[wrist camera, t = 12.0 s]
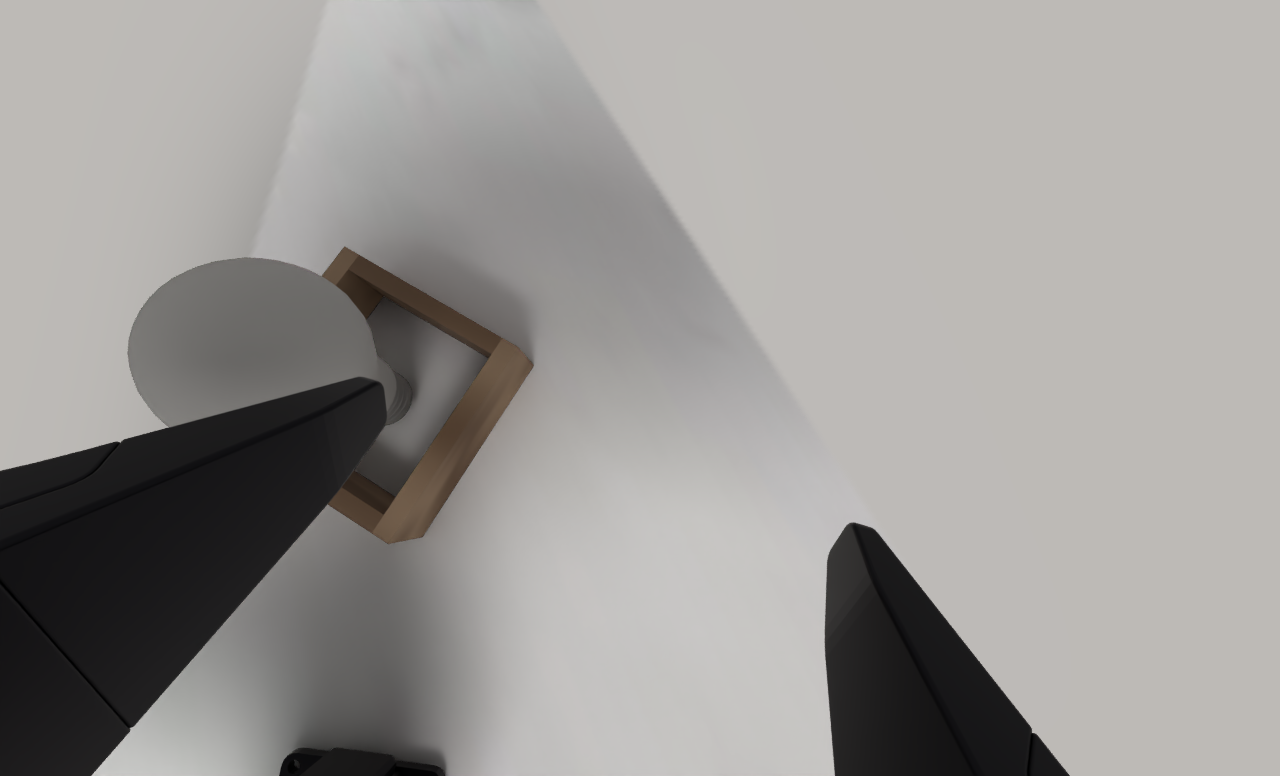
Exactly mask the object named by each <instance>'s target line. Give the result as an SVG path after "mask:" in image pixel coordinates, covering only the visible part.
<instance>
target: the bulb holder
mask: <svg viewBox="0 0 1280 776" xmlns="http://www.w3.org/2000/svg"><path fill="white" fill-rule="evenodd" d="M322 277H324V278H325V279H327V280H328V281H330V282H331V283H333V284H334V285H335V286H337V287H338V288H339V289H340V290H342V291H343V292H344V293H346V294H347V295H348V297H349V298H350V299H351V300H352V302H353V303H354V304H355V305H356V307H357V308H358V309H359V310H360V312H361V313H362V314H363V316H364V317H365V319H367V318H368V317H369V315H370V314H371V313H372V311H373V310H374V308H375V307H376V306H377V304H378V303H379V302H380V300H381V299H382V298H383V296H384V297H386V298H387V299H389V300H391V301H393V302H394V303H396V304H398V305H399V306H401V307H403V308H404V309H406V310H408V311H410V312H411V313H413V314H415V315H416V316H418V317H420V318H421V319H423V320H425V321H427V322H428V323H430V324H432V325H433V326H435V327H437V328H438V329H440V330H442V331H444V332H445V333H447V334H449V335H450V336H452V337H454V338H455V339H457V340H459V341H461V342H462V343H464V344H466V345H467V346H469V347H471V348H472V349H474V350H476V351H478V352H479V353H481V354H483V355H484V356H486V357H488V358H489V359H488V360H487V362H486V363H485V365H484V366H483V368H482V369H481V371H480V372H479V374H478V375H477V377H476V378H475V380H474V381H473V383H472V384H471V386H470V387H469V389H468V390H467V392H466V393H465V395H464V396H463V398H462V399H461V401H460V402H459V404H458V405H457V407H456V408H455V410H454V411H453V413H452V414H451V416H450V417H449V419H448V420H447V422H446V423H445V425H444V426H443V428H442V429H441V430H440V432H439V433H438V435H437V436H436V438H435V439H434V441H433V442H432V444H431V445H430V447H429V448H428V450H427V451H426V453H425V454H424V456H423V457H422V459H421V460H420V462H419V463H418V465H417V466H416V468H415V469H414V471H413V472H412V474H411V475H410V477H409V478H408V480H407V481H406V483H405V484H404V486H403V487H402V489H401V490H400V492H399V493H398V495H397V496H396V497H394V496H393V495H391V494H390V493H388V492H387V491H385V490H383V489H382V488H380V487H379V486H377V485H376V484H374V483H373V482H371V481H369V480H368V479H366V478H365V477H363V476H362V475H360V474H359V473H357V472H355V471H353V472H352V474H351V475H350V476H349V478H348V479H347V481H346V482H345V483H344V485H343V486H342V487H341V489H340V490H339V491H338V492H337V494H336V495H335V496H334V497H333V498H332V500H331V501H330V502H329V503H328V505H330V506H331V507H333V508H334V509H336V510H337V511H339V512H340V513H342V514H343V515H345V516H346V517H348V518H349V519H351V520H352V521H354V522H355V523H357V524H358V525H360V526H361V527H363V528H365V529H366V530H368V531H369V532H371V533H372V534H374V535H375V536H377V537H378V538H380V539H381V540H383V541H384V542H386V543H387V544H391V543H396V542H401V541H406V540H411V539H415V538H420V537H423V535H424V534H425V532H426V531H427V529H428V528H429V526H430V525H431V523H432V521H433V520H434V518H435V517H436V515H437V514H438V512H439V511H440V509H441V508H442V506H443V505H444V503H445V501H446V500H447V498H448V497H449V495H450V494H451V492H452V491H453V489H454V488H455V486H456V485H457V483H458V481H459V480H460V478H461V477H462V475H463V474H464V472H465V471H466V469H467V468H468V466H469V464H470V463H471V461H472V460H473V458H474V457H475V455H476V454H477V452H478V451H479V449H480V448H481V446H482V444H483V443H484V441H485V440H486V438H487V437H488V435H489V434H490V432H491V431H492V429H493V428H494V426H495V424H496V423H497V421H498V420H499V418H500V417H501V415H502V414H503V412H504V411H505V409H506V408H507V406H508V404H509V403H510V401H511V400H512V398H513V397H514V395H515V394H516V392H517V391H518V389H519V388H520V386H521V384H522V383H523V381H524V380H525V378H526V377H527V375H528V374H529V372H530V371H531V369H532V367H533V366H534V365H533V364H532V362H531V361H530V360H529V359H528V358H527V357H526V356H525V354H524V353H523V352H522V351H521V350H520V349H519V348H518V347H517V346H515V345H513V344H512V343H510V342H508V341H507V340H505V339H503V338H501V337H500V336H498V335H496V334H495V333H493V332H491V331H489V330H488V329H486V328H484V327H482V326H481V325H479V324H477V323H476V322H474V321H472V320H470V319H469V318H467V317H465V316H463V315H462V314H460V313H458V312H457V311H455V310H453V309H451V308H450V307H448V306H446V305H444V304H443V303H441V302H439V301H438V300H436V299H434V298H432V297H431V296H429V295H427V294H426V293H424V292H422V291H420V290H419V289H417V288H415V287H413V286H412V285H410V284H408V283H407V282H405V281H403V280H401V279H400V278H398V277H396V276H394V275H393V274H391V273H389V272H388V271H386V270H384V269H382V268H381V267H379V266H377V265H376V264H374V263H372V262H370V261H369V260H367V259H365V258H363V257H362V256H360V255H358V254H357V253H355V252H353V251H351V250H350V249H348V248H346V247H344V248H343V249H342V250H341V252H340V253H339V254H338V256H337V257H336V258H335V260H334V261H333V262H332V263H331V265H330V266H329V267H328V269H327V270H326V271H325V273H324V274H323V275H322Z"/></svg>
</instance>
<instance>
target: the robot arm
mask: <svg viewBox="0 0 1280 776" xmlns="http://www.w3.org/2000/svg"><path fill="white" fill-rule="evenodd" d="M386 421H387V408H386V399H385V391H384V386H383V385H382V383H381V382H379V381H376V380H373V379H370V378H366V377H361V376H360V377H355V378H351V379H347V380H343V381H340V382H336V383H332V384H329V385H325V386H321V387H317V388H314V389H310V390H306V391H303V392H299V393H295V394H291V395H288V396H284V397H280V398H277V399H273V400H269V401H265V402H262V403H258V404H254V405H251V406H247V407H243V408H239V409H236V410H232V411H228V412H224V413H221V414H217V415H213V416H210V417H206V418H202V419H198V420H195V421H191V422H187V423H184V424H180V425H176V426H172V427H169V428H165V429H162V430H158V431H154V432H150V433H147V434H143V435H139V436H135V437H132V438H128V439H124V440H123V441H122V442H121V443H120V442H113V443H109V444H105V445H102V446H98V447H94V448H91V449H87V450H83V451H80V452H75V453H71V454H68V455H64V456H60V457H56V458H52V459H48V460H44V461H41V462H37V463H32V464H28V465H24V466H19V467H15V468H11V469H6V470H2V471H0V776H91V775H92V774H93V773H94V772H95V771H96V770H97V769H98V767H99V766H100V765H101V764H102V763H103V762H104V761H105V759H106V758H107V757H108V756H109V755H110V754H111V752H112V751H113V750H114V749H115V748H116V747H117V746H118V744H119V743H120V742H121V741H122V740H123V739H124V738H125V736H126V735H127V734H128V733H129V732H130V728H131V727H133V726H135V724H136V723H137V722H138V721H139V720H140V719H141V718H142V716H143V715H144V714H145V713H146V712H147V711H148V710H149V708H150V707H151V706H152V705H153V704H154V703H155V701H156V700H157V699H158V698H159V697H160V696H161V695H162V693H163V692H164V691H165V690H166V689H167V688H168V687H169V685H170V684H171V683H172V682H173V681H174V680H175V679H176V677H177V676H178V675H179V674H180V673H181V672H182V671H183V669H184V668H185V667H186V666H187V665H188V664H189V663H190V661H191V660H192V659H193V658H194V657H195V656H196V654H197V653H198V652H199V651H200V650H201V649H202V648H203V646H204V645H205V644H206V643H207V642H208V641H209V640H210V638H211V637H212V636H213V635H214V634H215V633H216V632H217V630H218V629H219V628H220V627H221V626H222V625H223V624H224V622H225V621H226V620H227V619H228V618H229V617H230V616H231V614H232V613H233V612H234V611H235V610H236V609H237V607H238V606H239V605H240V604H241V603H242V602H243V601H244V599H245V598H246V597H247V596H248V595H249V594H250V593H251V591H252V590H253V589H254V588H255V587H256V586H257V585H258V583H259V582H260V581H261V580H262V579H263V578H264V577H265V575H266V574H267V573H268V572H269V571H270V570H271V569H272V567H273V566H274V565H275V564H276V563H277V562H278V560H279V559H280V558H281V557H282V556H283V555H284V554H285V552H286V551H287V550H288V549H289V548H290V547H291V546H292V544H293V543H294V542H295V541H296V540H297V539H298V538H299V536H300V535H301V534H302V533H303V532H304V531H305V530H306V528H307V527H308V526H309V525H310V524H311V523H312V521H313V520H314V519H315V518H316V517H317V516H318V515H319V513H320V512H321V511H322V510H323V509H324V508H325V507H326V505H327V504H328V503H329V502H330V501H331V500H332V498H333V497H334V496H335V495H336V494H337V492H338V491H339V490H340V489H341V487H342V486H343V485H344V483H345V482H346V481H347V479H348V478H349V476H350V475H351V474H352V472H353V471H354V469H355V468H356V466H357V465H358V464H359V462H360V461H361V459H362V458H363V457H364V455H365V454H366V452H367V451H368V449H369V448H370V447H371V445H372V444H373V442H374V441H375V439H376V438H377V437H378V435H379V434H380V432H381V431H382V429H383V428H384V426H385V424H386ZM825 658H826V670H827V683H828V695H829V708H830V720H831V733H832V745H833V757H834V770H835V776H1070V775H1069V774H1068V773H1067V772H1066V770H1065V769H1064V768H1063V767H1062V766H1061V764H1060V763H1059V762H1058V761H1057V759H1056V758H1055V757H1054V755H1053V754H1052V753H1051V752H1050V750H1049V749H1048V748H1047V747H1046V745H1045V744H1044V743H1043V742H1042V740H1041V739H1040V738H1039V737H1038V735H1037V734H1035V733H1032V728H1031V727H1030V725H1029V724H1028V723H1027V722H1026V720H1025V719H1024V718H1023V716H1022V715H1021V714H1020V713H1019V711H1018V710H1017V709H1016V708H1015V706H1014V705H1013V704H1012V703H1011V701H1010V700H1009V699H1008V698H1007V696H1006V695H1005V694H1004V692H1003V691H1002V690H1001V689H1000V687H999V686H998V685H997V684H996V682H995V681H994V680H993V678H992V677H991V676H990V675H989V673H988V672H987V671H986V670H985V668H984V667H983V666H982V664H981V663H980V662H979V661H978V660H977V658H976V657H975V656H974V654H973V653H972V652H971V651H970V649H969V648H968V647H967V645H966V644H965V643H964V642H963V640H962V639H961V638H960V637H959V636H958V634H957V633H956V631H955V630H954V629H953V628H952V626H951V625H950V624H949V623H948V621H947V620H946V619H945V618H944V616H943V615H942V614H941V613H940V611H939V610H938V609H937V607H936V606H935V605H934V604H933V602H932V601H931V600H930V599H929V597H928V596H927V595H926V593H925V592H924V591H923V590H922V588H921V587H920V586H919V585H918V583H917V582H916V581H915V580H914V578H913V577H912V576H911V574H910V573H909V572H908V571H907V569H906V568H905V567H904V566H903V564H902V563H901V562H900V560H899V559H898V558H897V557H896V555H895V554H894V553H893V552H892V550H891V549H890V548H889V547H888V545H887V544H886V543H885V541H884V540H883V539H882V538H881V536H880V535H879V534H878V533H877V532H876V530H874V529H873V528H871V527H868V526H864V525H861V524H858V523H849V524H848V525H847V526H846V527H845V528H844V530H843V531H842V533H841V535H840V536H839V538H838V539H837V541H836V542H835V544H834V545H833V547H832V548H831V550H830V552H829V555H828V560H827V582H826V611H825ZM295 760H297V761H299V763H300V769H299V768H297V767H296V766H295ZM279 776H445V774H444V772H443V770H442V769H441V768H440V767H438V766H435V765H428V764H421V763H413V762H406V761H399V760H396V759H395V758H394V757H393V756H392V755H389V754H381V753H374V752H366V751H359V750H351V749H344V748H333V749H332V750H330V751H324V750H317V749H309V748H298V749H297V750H295V751H293V752H292V753H291V754H289V755H288V756H287V757H286V758H285V759H284V761H283V763H282V766H281V771H280V775H279Z"/></svg>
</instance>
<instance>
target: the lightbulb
mask: <svg viewBox="0 0 1280 776" xmlns="http://www.w3.org/2000/svg"><path fill="white" fill-rule="evenodd" d="M128 359H129V367H130V370H131V374H132V377H133V380H134V382H135V385H136V388H137V390H138V392H139V394H140V395H141V396H142V398H143V400H144V401H145V402H146V404H147V405H148V406H149V408H150V409H151V411H152V412H153V413H154V414H155V415H156V416H157V417H158V418H159V419H160V420H161V421H162V422H163V423H165V424H166V425H167V426H168V427H172V426H176V425H180V424H184V423H187V422H191V421H195V420H198V419H202V418H206V417H210V416H213V415H217V414H221V413H224V412H228V411H232V410H236V409H239V408H243V407H247V406H251V405H254V404H258V403H262V402H265V401H269V400H273V399H277V398H280V397H284V396H288V395H291V394H295V393H299V392H303V391H306V390H310V389H314V388H317V387H321V386H325V385H329V384H332V383H336V382H340V381H343V380H347V379H351V378H355V377H360V376H361V377H366V378H370V379H373V380H376V381H379V382H381V383H382V385H383V386H384V391H385V399H386V408H387V421H386V424H385V425H390V424H393V423H395V422H397V421H398V420H400V419H401V418H402V417H403V416H404V415H405V414H406V413H407V411H408V409H409V408H410V405H411V401H412V391H411V387H410V385H409V383H408V382H407V381H406V379H404V378H403V377H402V376H401V375H399V374H398V373H396V372H394V371H393V370H392V369H391V367H390V366H389V365H388V364H387V362H385V361H384V360H383V359H382V358H380V357H379V356H377V353H376V349H375V344H374V340H373V336H372V332H371V329H370V327H369V325H368V323H367V321H366V319H365V317H364V316H363V314H362V313H361V312H360V310H359V309H358V308H357V307H356V305H355V304H354V303H353V302H352V300H351V299H350V298H349V297H348V295H347V294H346V293H344V292H343V291H342V290H340V289H339V288H338V287H337V286H335V285H334V284H333V283H331V282H330V281H328V280H327V279H325V278H324V277H322V276H320V275H318V274H316V273H314V272H312V271H310V270H307V269H304V268H302V267H299V266H296V265H292V264H289V263H285V262H281V261H276V260H269V259H263V258H237V259H229V260H222V261H215V262H211V263H208V264H204V265H201V266H198V267H195V268H193V269H191V270H188V271H186V272H184V273H182V274H180V275H178V276H176V277H174V278H173V279H171V280H169V281H168V282H167V283H165V284H164V285H162V286H161V287H160V288H159V289H158V290H157V291H156V292H155V293H154V294H153V295H152V296H151V297H150V298H149V299H148V300H147V302H146V303H145V304H144V306H143V307H142V308H141V310H140V311H139V313H138V316H137V318H136V320H135V322H134V324H133V326H132V330H131V333H130V337H129V344H128Z"/></svg>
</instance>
